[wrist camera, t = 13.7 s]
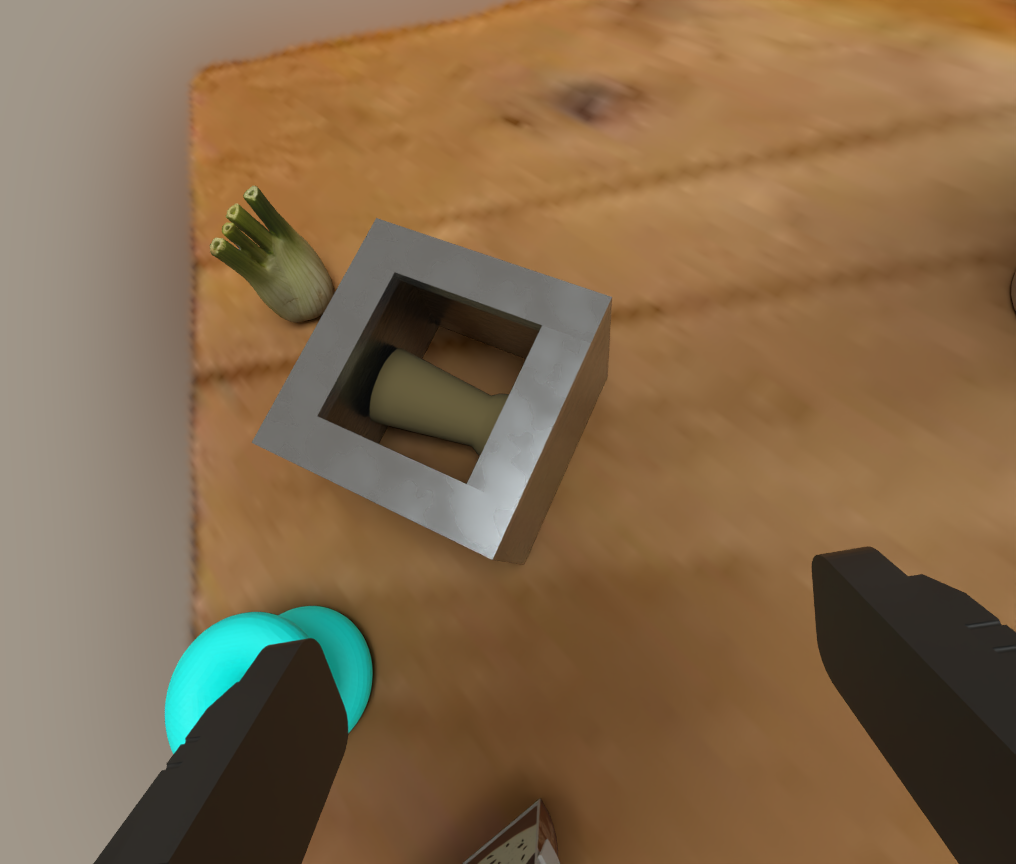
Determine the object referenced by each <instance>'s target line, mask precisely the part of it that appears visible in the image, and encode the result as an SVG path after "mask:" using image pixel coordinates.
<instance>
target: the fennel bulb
mask: <svg viewBox="0 0 1016 864" xmlns="http://www.w3.org/2000/svg"><path fill="white" fill-rule="evenodd" d="M243 196H244V199H245V200H246V201H247V203H248V204H249V205H250V206H251V208H252V209H253V210H254V212H255V213H256V214H257V215H258V217H259V218H260V219H261V220H262V221H263V223H264V224H265V226H266V227H267V228H268V230H269V231H270V232H269V231H268V230H267V229H266V228H265V227H264V226H263V225H262V224H260V223H259V222H258V221H257V220H256V219H254V218H253V217H252V216H251V215H250V214H249V213H248V212H247V211H246V210H245V209H243V208H242V207H241V206H240V205H239V204H235V205H233V206H231V207H230V208H229V209H228V211H227V215H226V218H228V219H229V220H230V221H231V222H232V223H226V224H224V225H223V226H222V233H223V234H224V235H225V236H226V237H227V238H228V239H229V240H230V241H231V242H233V243H234V244H235V245H236V246H237V247H238V248H239V249H237V248H236V247H234V246H233V245H232V244H230V243H229V242H228V241H226V240H224V239H222V238H214V240H213V241H212V244H210V252H211V254H212V255H213V256H215V257H216V258H218V259H219V260H221V261H222V262H224V263H225V264H227V265H228V266H229V267H231V268H232V269H233V270H235V271H236V272H237V273H239V274H240V275H241V276H243V277H244V278H245V279H246V280H247V281H248V282H249V283H250V285H251V286H252V287H253V288H254V290H255V291H256V292H257V294H258V295H259V296H260V298H261V299H262V300H263V301H264V302H265V303H266V305H267V306H268V307H269V308H271V309H272V310H273V311H274V312H275V313H276V314H278V315H279V316H280V317H282V318H284V319H286V320H288V321H291V322H303V321H306V320H312V319H314V318H317V317H318V316H320V315H322V314H323V313H324V312H325V310H326V308H327V306H328V304H329V303H330V301H331V299H332V297H333V290H334V288H333V284H332V281H331V278H330V276H329V274H328V272H327V270H326V268H325V266H324V264H323V263H322V261H321V259H320V258H319V256H318V255H317V254H316V252H315V251H314V250H313V248H312V247H311V246H310V245H309V244H308V242H307V241H306V240H304V238H303V237H302V236H300V235H299V234H298V233H297V232H296V231H295V230H294V229H293V228H292V227H291V226H290V225H289V224H288V223H287V222H286V221H285V220H284V218H283V217H281V215H280V214H279V213H278V212H277V211H276V210H275V208H274V207H273V206H272V205H271V204H270V202H269V201H268V200H267V199H266V197H265V196H264V195H263V193H262V192H261V191H260V189H259V188H258V187H257V186H252V187H250V189H248V190H247V191H246V192H245V194H244V195H243ZM235 225H236V226H237V227H236V226H235ZM239 229H240V230H241V231H243V232H244V233H245V234H246V235H248V236H249V237H250V238H251V239H252V240H253V241H254V242H255V243H256V244H255V243H254V242H253V241H252V240H251V239H249V238H248V237H247V236H246V235H245V234H244V233H243V232H241V231H240V230H239ZM257 244H258V245H259V246H260V247H259V246H258V245H257Z"/></svg>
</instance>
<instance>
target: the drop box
mask: <svg viewBox="0 0 1016 864" xmlns="http://www.w3.org/2000/svg"><path fill="white" fill-rule="evenodd" d="M611 306H612V297H610V296H607V295H604V294H601V293H598V292H595V291H592V290H589V289H586V288H583V287H580V286H577V285H574V284H571V283H568V282H565V281H562V280H559V279H556V278H553V277H550V276H547V275H544V274H541V273H538V272H535V271H532V270H529V269H526V268H523V267H520V266H517V265H514V264H511V263H508V262H506V261H503V260H500V259H497V258H494V257H491V256H488V255H485V254H482V253H479V252H476V251H473V250H470V249H467V248H464V247H461V246H458V245H455V244H452V243H449V242H446V241H443V240H440V239H437V238H434V237H431V236H428V235H425V234H422V233H419V232H416V231H413V230H410V229H407V228H404V227H401V226H398V225H395V224H392V223H389V222H386V221H383V220H380V219H377V218H376V220H375V221H374V223H373V225H372V227H371V229H370V230H369V232H368V234H367V236H366V238H365V239H364V241H363V243H362V245H361V247H360V248H359V250H358V252H357V254H356V256H355V258H354V259H353V261H352V263H351V265H350V267H349V268H348V270H347V272H346V274H345V276H344V277H343V279H342V281H341V283H340V285H339V286H338V288H337V290H336V292H335V294H334V295H333V297H332V299H331V301H330V303H329V304H328V306H327V308H326V310H325V312H324V313H323V315H322V317H321V319H320V321H319V322H318V324H317V326H316V328H315V330H314V331H313V333H312V335H311V337H310V339H309V340H308V342H307V344H306V346H305V348H304V349H303V351H302V353H301V355H300V357H299V358H298V360H297V362H296V364H295V366H294V367H293V369H292V371H291V373H290V375H289V376H288V378H287V380H286V382H285V384H284V385H283V387H282V389H281V391H280V393H279V394H278V396H277V398H276V400H275V402H274V403H273V405H272V407H271V409H270V411H269V412H268V414H267V416H266V418H265V420H264V421H263V423H262V425H261V427H260V429H259V430H258V432H257V434H256V436H255V438H254V439H253V441H252V443H254V444H256V445H258V446H260V447H262V448H264V449H266V450H268V451H270V452H272V453H274V454H276V455H278V456H280V457H282V458H284V459H286V460H289V461H291V462H293V463H295V464H297V465H299V466H301V467H303V468H305V469H307V470H309V471H311V472H313V473H315V474H317V475H319V476H321V477H323V478H325V479H328V480H330V481H332V482H334V483H336V484H338V485H340V486H342V487H344V488H346V489H348V490H350V491H352V492H354V493H356V494H358V495H360V496H362V497H365V498H367V499H369V500H371V501H373V502H375V503H377V504H379V505H381V506H383V507H385V508H387V509H389V510H391V511H393V512H395V513H397V514H399V515H402V516H404V517H406V518H408V519H410V520H412V521H414V522H416V523H418V524H420V525H422V526H424V527H426V528H428V529H430V530H432V531H434V532H436V533H438V534H441V535H443V536H445V537H447V538H449V539H451V540H453V541H455V542H457V543H459V544H461V545H463V546H465V547H467V548H469V549H471V550H473V551H475V552H478V553H480V554H482V555H484V556H486V557H488V558H490V559H492V560H497V561H504V562H511V563H518V564H524V563H525V561H526V559H527V557H528V554H529V552H530V550H531V548H532V545H533V543H534V541H535V539H536V536H537V534H538V532H539V530H540V527H541V525H542V523H543V521H544V518H545V516H546V514H547V512H548V509H549V507H550V505H551V503H552V500H553V498H554V496H555V494H556V491H557V489H558V487H559V485H560V482H561V480H562V478H563V476H564V473H565V471H566V469H567V467H568V464H569V462H570V460H571V458H572V455H573V453H574V451H575V449H576V446H577V444H578V442H579V440H580V437H581V435H582V433H583V431H584V428H585V426H586V424H587V422H588V419H589V417H590V415H591V413H592V410H593V408H594V406H595V404H596V401H597V399H598V397H599V395H600V392H601V390H602V388H603V386H604V383H605V381H606V379H607V376H608V359H609V341H610V324H611ZM439 326H441V327H444V328H446V329H449V330H452V331H454V332H457V333H460V334H462V335H465V336H468V337H470V338H473V339H475V340H478V341H481V342H483V343H486V344H489V345H491V346H494V347H497V348H499V349H502V350H504V351H507V352H510V353H512V354H515V355H518V356H520V357H523V358H525V359H526V361H525V363H524V365H523V367H522V369H521V371H520V373H519V375H518V377H517V380H516V382H515V384H514V386H513V388H512V390H511V392H510V394H509V396H508V398H507V401H506V403H505V405H504V407H503V409H502V411H501V413H500V415H499V417H498V420H497V422H496V424H495V426H494V428H493V430H492V432H491V434H490V436H489V438H488V441H487V443H486V445H485V447H484V449H483V451H482V453H481V455H480V457H479V459H478V462H477V464H476V466H475V468H474V470H473V472H472V474H471V476H470V478H469V480H468V483H467V484H465V483H463V482H461V481H459V480H456V479H454V478H452V477H450V476H448V475H445V474H443V473H441V472H439V471H437V470H434V469H432V468H430V467H428V466H426V465H423V464H421V463H419V462H417V461H415V460H412V459H410V458H408V457H406V456H404V455H401V454H399V453H397V452H395V451H393V450H390V449H388V448H386V447H384V446H382V445H379V442H380V440H381V438H382V436H383V434H384V432H385V430H386V428H387V425H383V424H379V423H375V422H372V420H371V418H370V409H369V408H370V401H371V395H372V392H373V388H374V385H375V382H376V380H377V377H378V375H379V372H380V371H381V369H382V367H383V365H384V363H385V361H386V360H387V359H388V357H389V356H390V355H391V354H392V353H393V352H394V351H395V350H396V349H400V348H402V349H404V350H406V351H408V352H410V353H411V354H413V355H415V356H417V357H419V358H421V359H422V358H423V356H424V354H425V352H426V350H427V348H428V346H429V344H430V342H431V340H432V338H433V336H434V334H435V332H436V330H437V329H438V327H439Z"/></svg>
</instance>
